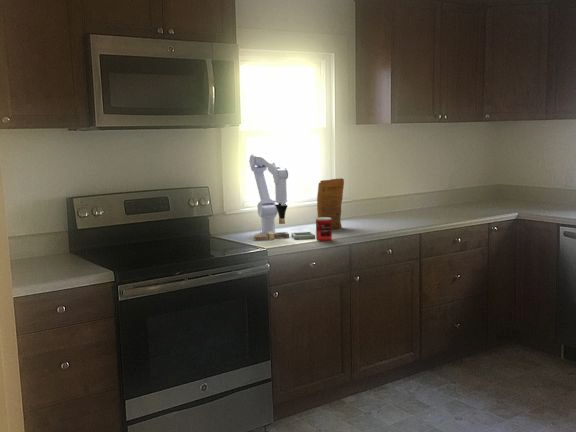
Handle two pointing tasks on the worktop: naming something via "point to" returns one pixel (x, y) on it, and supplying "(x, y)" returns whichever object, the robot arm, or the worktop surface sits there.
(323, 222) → the canned food
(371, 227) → the worktop surface
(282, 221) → the dowel
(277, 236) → the socket block
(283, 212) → the robot arm
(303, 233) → the tray
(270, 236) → the block
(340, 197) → the pancake mix bag
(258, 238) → the brown wooden board
